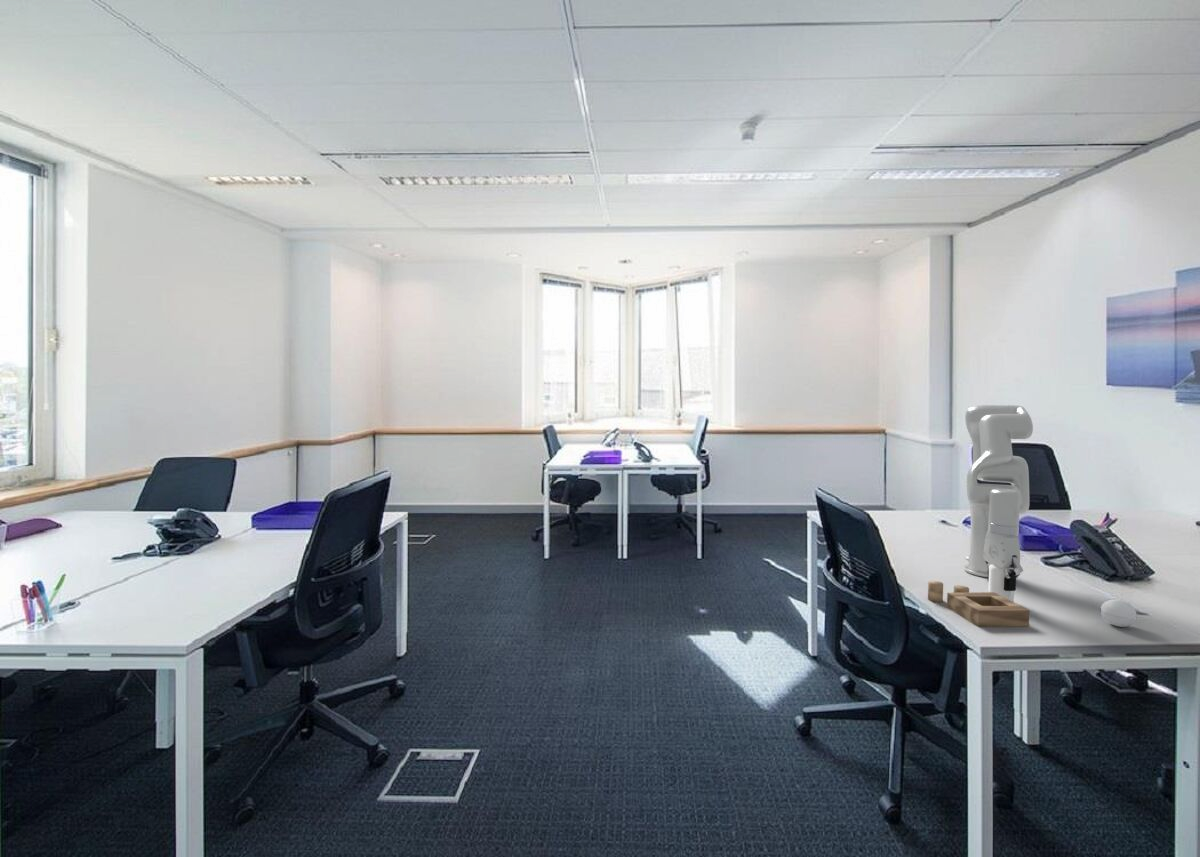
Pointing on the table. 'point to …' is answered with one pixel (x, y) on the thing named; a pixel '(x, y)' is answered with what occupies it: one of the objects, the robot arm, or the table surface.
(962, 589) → the peg short
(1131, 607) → the white rounded egg-shaped part
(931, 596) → the peg mid
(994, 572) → the can
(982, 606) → the wooden rectangular frame
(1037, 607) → the table surface
